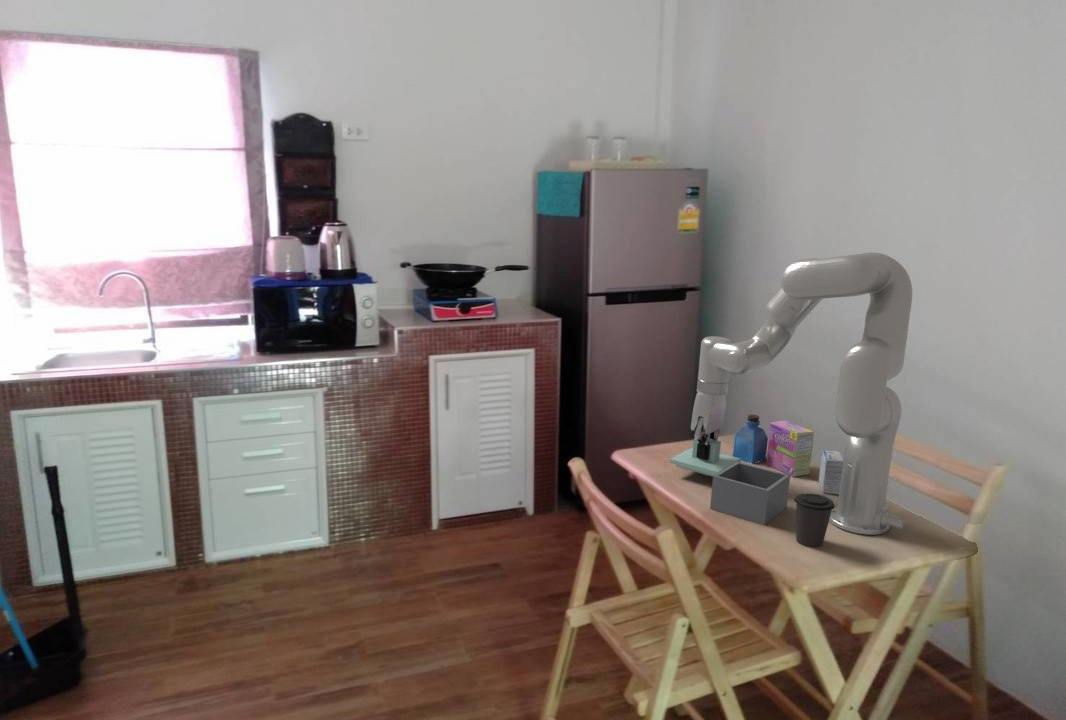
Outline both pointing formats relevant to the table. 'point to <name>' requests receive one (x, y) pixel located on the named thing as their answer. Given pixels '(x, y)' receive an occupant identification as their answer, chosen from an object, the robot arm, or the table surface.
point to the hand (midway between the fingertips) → (705, 456)
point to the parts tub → (750, 492)
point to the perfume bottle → (751, 441)
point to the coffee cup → (812, 518)
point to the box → (790, 448)
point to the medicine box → (830, 472)
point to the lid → (706, 467)
